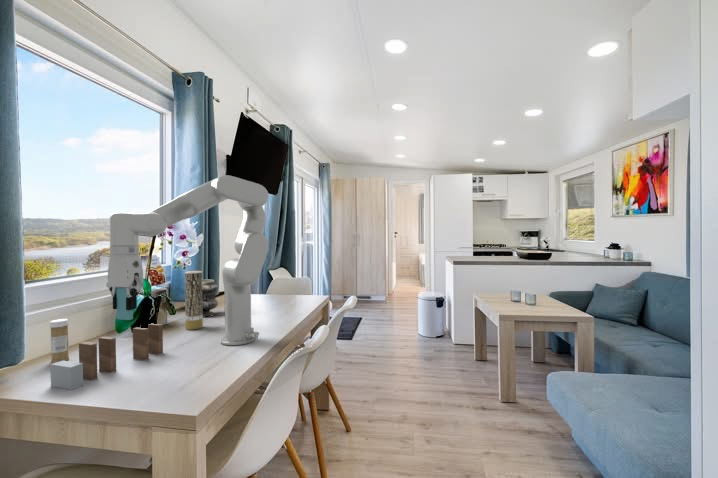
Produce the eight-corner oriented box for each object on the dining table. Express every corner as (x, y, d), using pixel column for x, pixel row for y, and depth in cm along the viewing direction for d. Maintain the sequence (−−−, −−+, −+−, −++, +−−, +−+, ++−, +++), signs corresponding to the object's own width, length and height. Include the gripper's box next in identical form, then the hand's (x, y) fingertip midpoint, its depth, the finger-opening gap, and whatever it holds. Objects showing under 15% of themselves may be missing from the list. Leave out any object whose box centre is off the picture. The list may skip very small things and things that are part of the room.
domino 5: (152, 351, 122) (151, 323, 122) (163, 352, 120) (162, 324, 120) (148, 353, 120) (147, 324, 120) (159, 354, 119) (158, 325, 119)
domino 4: (137, 356, 117) (136, 327, 116) (148, 358, 115) (148, 328, 115) (133, 358, 115) (132, 328, 115) (144, 359, 113) (143, 329, 113)
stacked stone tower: (215, 317, 173) (215, 281, 173) (189, 318, 171) (189, 282, 170) (220, 312, 185) (219, 278, 185) (195, 313, 182) (195, 279, 182)
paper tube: (197, 325, 157) (196, 270, 157) (205, 327, 153) (204, 271, 153) (182, 328, 152) (181, 271, 151) (190, 331, 148) (189, 272, 147)
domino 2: (104, 368, 106) (103, 336, 106) (116, 370, 104) (115, 337, 104) (99, 370, 105) (98, 337, 104) (111, 372, 103) (110, 339, 103)
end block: (83, 385, 94) (82, 363, 94) (71, 390, 91) (70, 367, 91) (63, 381, 97) (62, 360, 97) (50, 386, 94) (50, 364, 94)
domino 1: (85, 375, 101) (84, 341, 101) (97, 377, 99) (96, 343, 99) (79, 378, 99) (78, 343, 99) (91, 380, 98) (90, 344, 98)
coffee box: (156, 323, 162) (155, 289, 162) (167, 323, 161) (167, 289, 161) (139, 328, 153) (139, 292, 153) (152, 329, 152) (151, 292, 152)
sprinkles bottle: (70, 357, 117) (70, 317, 116) (66, 361, 113) (65, 320, 112) (53, 359, 115) (52, 319, 114) (48, 364, 111) (47, 322, 110)
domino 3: (121, 318, 111) (121, 286, 111) (133, 319, 110) (132, 287, 110) (116, 319, 110) (116, 287, 110) (128, 320, 108) (128, 288, 108)
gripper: (155, 251, 110) (155, 308, 110) (116, 251, 116) (116, 305, 116) (133, 252, 103) (133, 313, 103) (93, 251, 109) (93, 309, 109)
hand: (124, 308), depth 110 cm, fingers closed on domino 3, 4 cm apart
